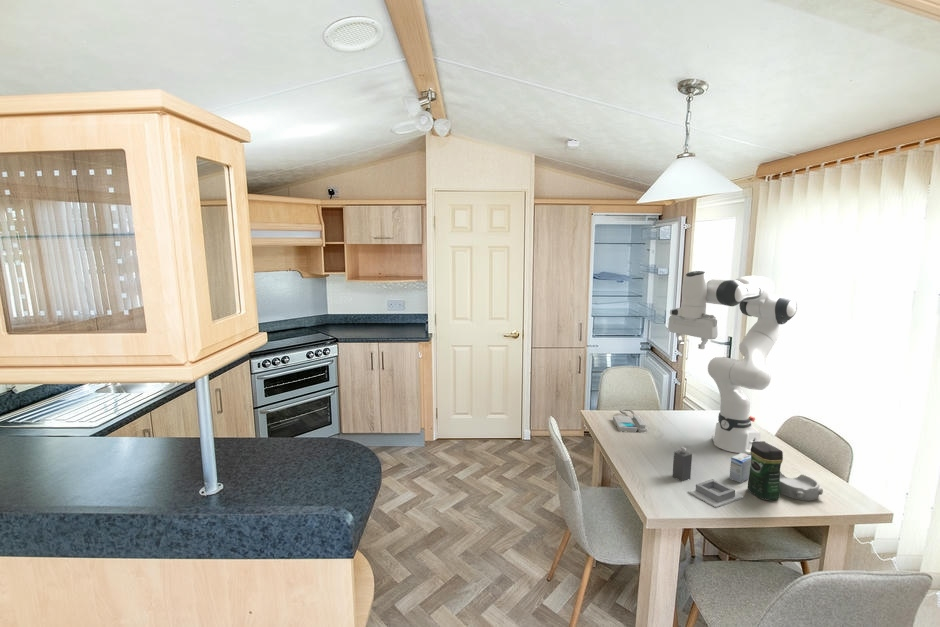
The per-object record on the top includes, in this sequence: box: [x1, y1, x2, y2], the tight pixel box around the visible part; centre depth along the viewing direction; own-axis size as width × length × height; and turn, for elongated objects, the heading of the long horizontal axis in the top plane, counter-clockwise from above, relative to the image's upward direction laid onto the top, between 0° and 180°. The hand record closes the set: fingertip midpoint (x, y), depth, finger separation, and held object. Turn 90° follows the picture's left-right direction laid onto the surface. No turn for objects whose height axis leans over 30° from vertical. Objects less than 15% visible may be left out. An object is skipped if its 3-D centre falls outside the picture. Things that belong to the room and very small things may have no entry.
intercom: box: [612, 408, 648, 433], centre depth 229 cm, size 13×4×25 cm
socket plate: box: [687, 478, 743, 509], centre depth 161 cm, size 14×11×3 cm
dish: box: [780, 471, 824, 501], centre depth 163 cm, size 14×14×5 cm
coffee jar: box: [747, 440, 784, 501], centre depth 160 cm, size 10×8×19 cm
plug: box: [672, 446, 693, 482], centre depth 172 cm, size 4×4×12 cm
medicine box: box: [728, 453, 751, 484], centre depth 172 cm, size 8×4×9 cm, turn 123°
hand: (690, 346), depth 181 cm, fingers open, 8 cm apart
